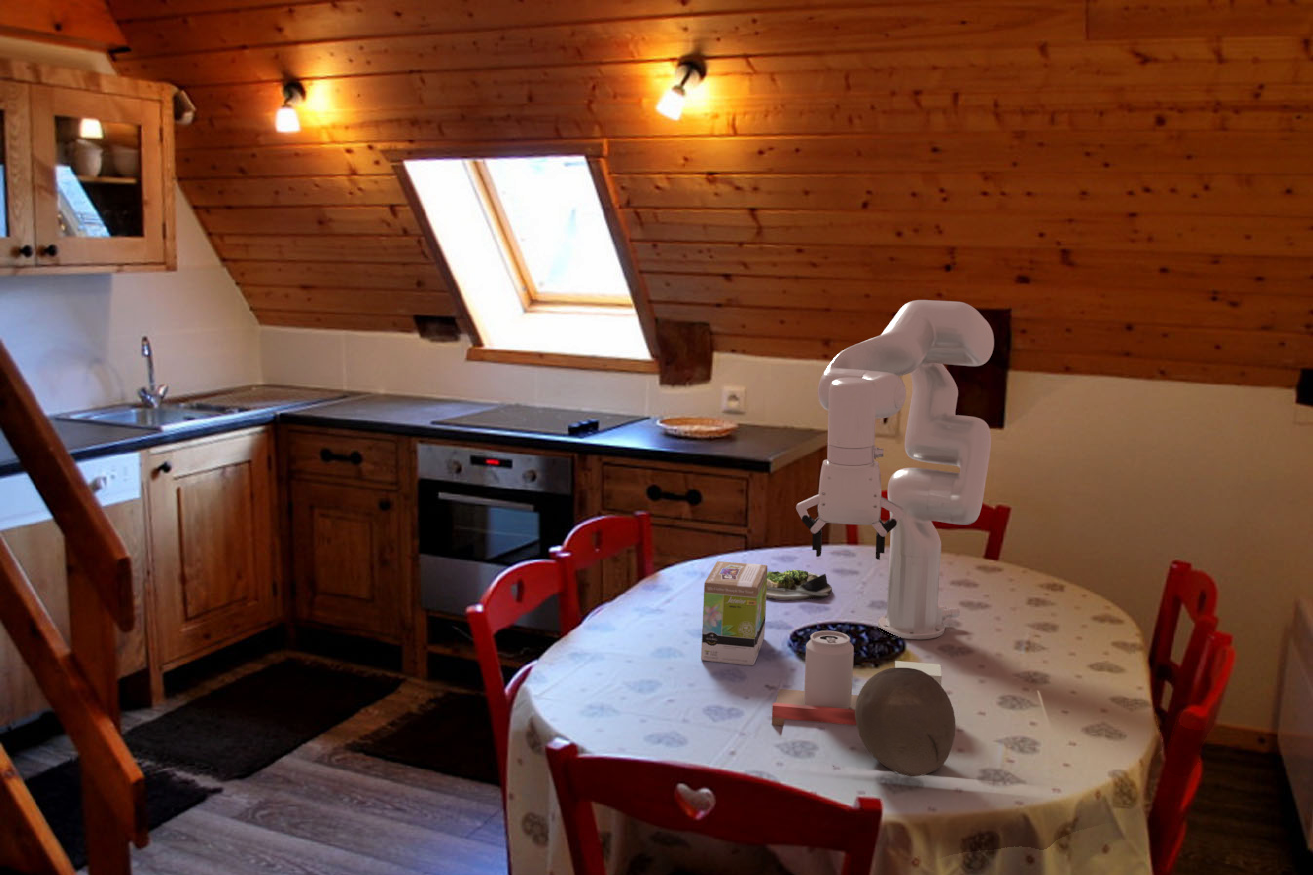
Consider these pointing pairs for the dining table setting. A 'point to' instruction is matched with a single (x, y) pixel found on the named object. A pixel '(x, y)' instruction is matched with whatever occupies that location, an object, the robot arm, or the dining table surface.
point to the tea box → (734, 613)
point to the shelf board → (809, 710)
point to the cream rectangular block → (923, 668)
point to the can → (829, 670)
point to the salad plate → (797, 585)
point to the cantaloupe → (906, 720)
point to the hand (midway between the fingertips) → (848, 555)
